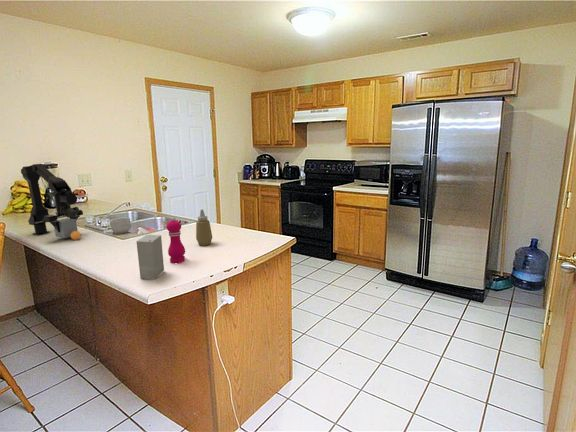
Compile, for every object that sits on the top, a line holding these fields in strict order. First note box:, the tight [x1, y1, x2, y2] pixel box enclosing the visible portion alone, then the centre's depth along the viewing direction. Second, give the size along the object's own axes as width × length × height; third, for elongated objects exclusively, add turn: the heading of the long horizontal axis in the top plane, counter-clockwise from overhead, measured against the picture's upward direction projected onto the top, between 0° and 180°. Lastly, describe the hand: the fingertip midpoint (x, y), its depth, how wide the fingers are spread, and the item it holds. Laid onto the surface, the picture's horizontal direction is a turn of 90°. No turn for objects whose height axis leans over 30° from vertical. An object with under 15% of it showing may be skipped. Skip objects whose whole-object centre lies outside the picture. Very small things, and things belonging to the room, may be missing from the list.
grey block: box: [53, 217, 78, 239], centre depth 189 cm, size 8×8×9 cm
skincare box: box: [136, 234, 165, 280], centre depth 133 cm, size 8×7×16 cm
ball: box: [70, 231, 82, 241], centre depth 187 cm, size 5×5×5 cm
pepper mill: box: [166, 216, 186, 265], centre depth 148 cm, size 7×7×20 cm
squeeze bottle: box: [195, 209, 213, 247], centre depth 171 cm, size 8×8×18 cm
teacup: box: [109, 216, 132, 235], centre depth 200 cm, size 14×11×8 cm
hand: (66, 230), depth 189 cm, fingers closed on grey block, 8 cm apart
